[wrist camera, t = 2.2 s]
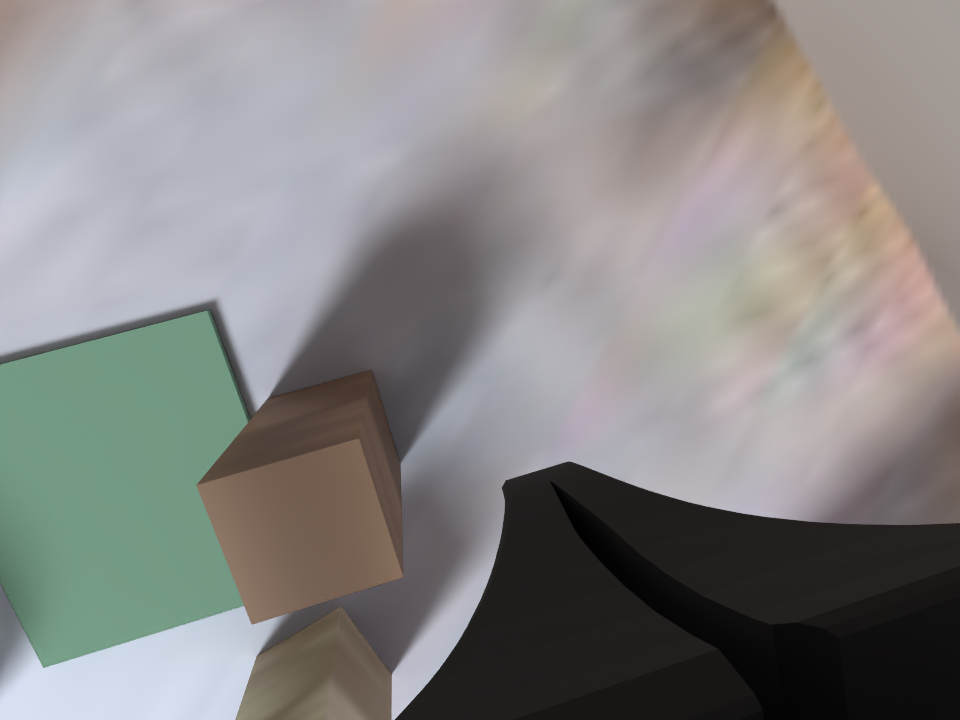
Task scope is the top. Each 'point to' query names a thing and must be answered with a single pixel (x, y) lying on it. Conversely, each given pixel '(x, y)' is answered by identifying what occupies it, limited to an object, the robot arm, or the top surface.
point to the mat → (115, 486)
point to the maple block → (319, 676)
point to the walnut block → (309, 498)
